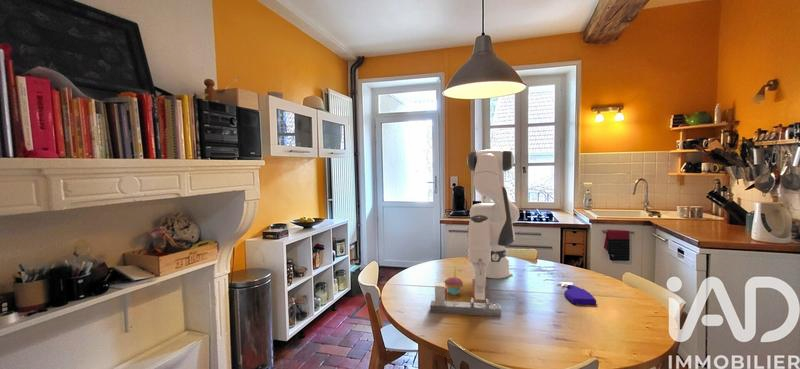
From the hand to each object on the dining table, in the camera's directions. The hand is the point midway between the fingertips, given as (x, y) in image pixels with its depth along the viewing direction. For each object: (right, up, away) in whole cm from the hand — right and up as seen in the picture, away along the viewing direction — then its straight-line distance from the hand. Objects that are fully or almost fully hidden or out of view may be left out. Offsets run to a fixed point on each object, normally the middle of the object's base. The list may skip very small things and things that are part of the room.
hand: (479, 289), depth 137 cm
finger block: (0, -3, 0) cm, 3 cm away
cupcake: (-7, -9, +22) cm, 25 cm away
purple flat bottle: (+48, -8, +18) cm, 51 cm away
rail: (-6, -10, +2) cm, 11 cm away
